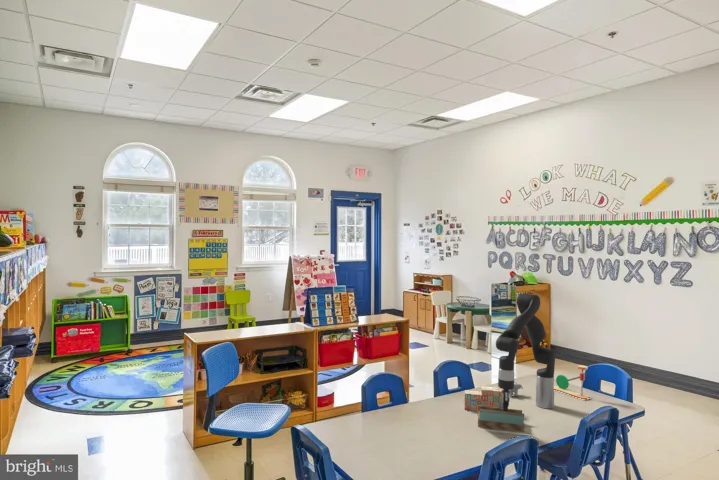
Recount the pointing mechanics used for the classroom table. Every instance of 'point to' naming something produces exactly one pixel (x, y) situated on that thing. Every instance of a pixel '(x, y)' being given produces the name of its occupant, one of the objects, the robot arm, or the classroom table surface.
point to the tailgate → (501, 416)
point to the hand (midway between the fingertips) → (505, 412)
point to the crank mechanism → (564, 384)
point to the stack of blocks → (483, 398)
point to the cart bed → (498, 424)
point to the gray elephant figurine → (515, 389)
